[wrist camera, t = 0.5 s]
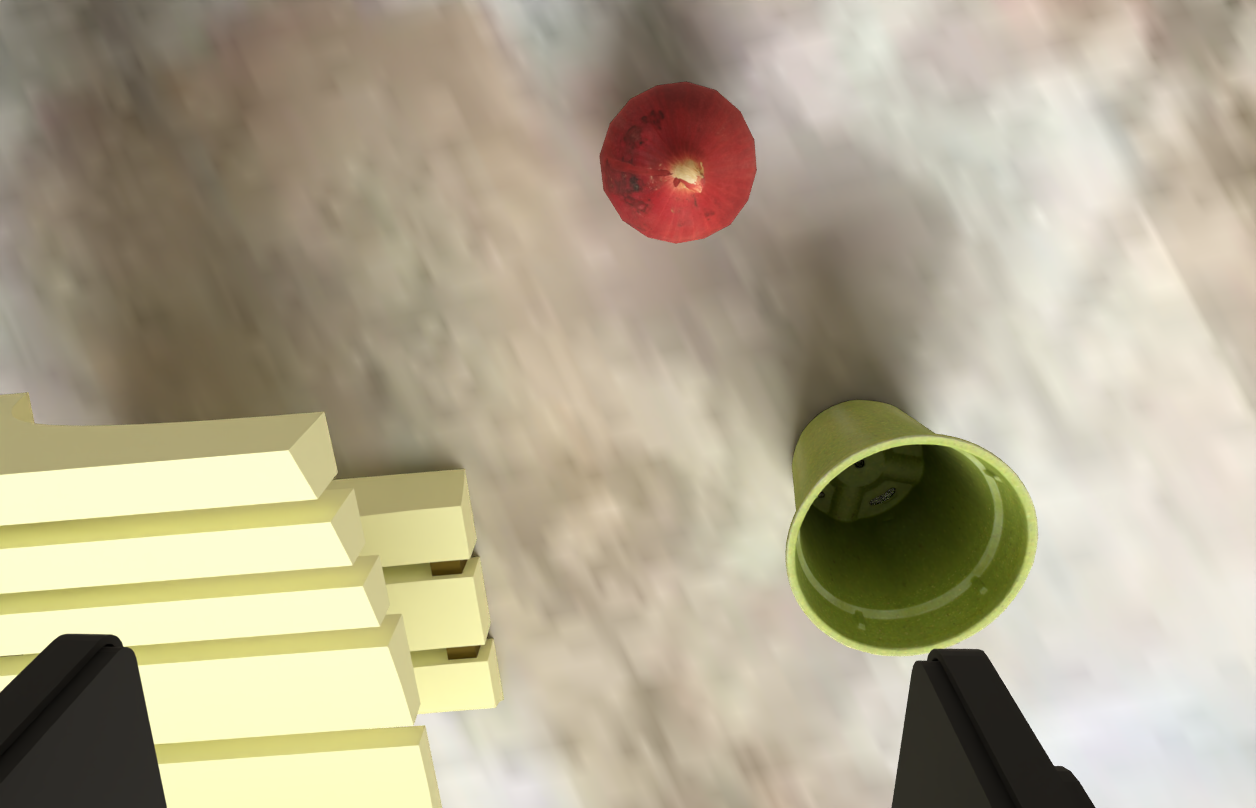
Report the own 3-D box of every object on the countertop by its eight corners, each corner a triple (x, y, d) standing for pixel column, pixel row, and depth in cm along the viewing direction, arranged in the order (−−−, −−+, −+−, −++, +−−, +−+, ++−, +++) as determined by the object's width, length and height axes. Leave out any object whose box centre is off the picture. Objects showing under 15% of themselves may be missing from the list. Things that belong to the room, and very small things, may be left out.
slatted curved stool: (80, 324, 40) (-318, 502, 23) (435, 292, 39) (288, 450, 23) (241, 846, 50) (44, 1231, 33) (525, 827, 50) (469, 1208, 33)
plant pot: (997, 475, 42) (1084, 570, 34) (829, 583, 44) (873, 697, 36) (889, 322, 40) (955, 385, 32) (716, 444, 42) (737, 532, 34)
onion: (613, 234, 39) (609, 272, 31) (594, 93, 37) (584, 97, 29) (749, 216, 38) (778, 250, 31) (737, 73, 36) (764, 71, 29)
